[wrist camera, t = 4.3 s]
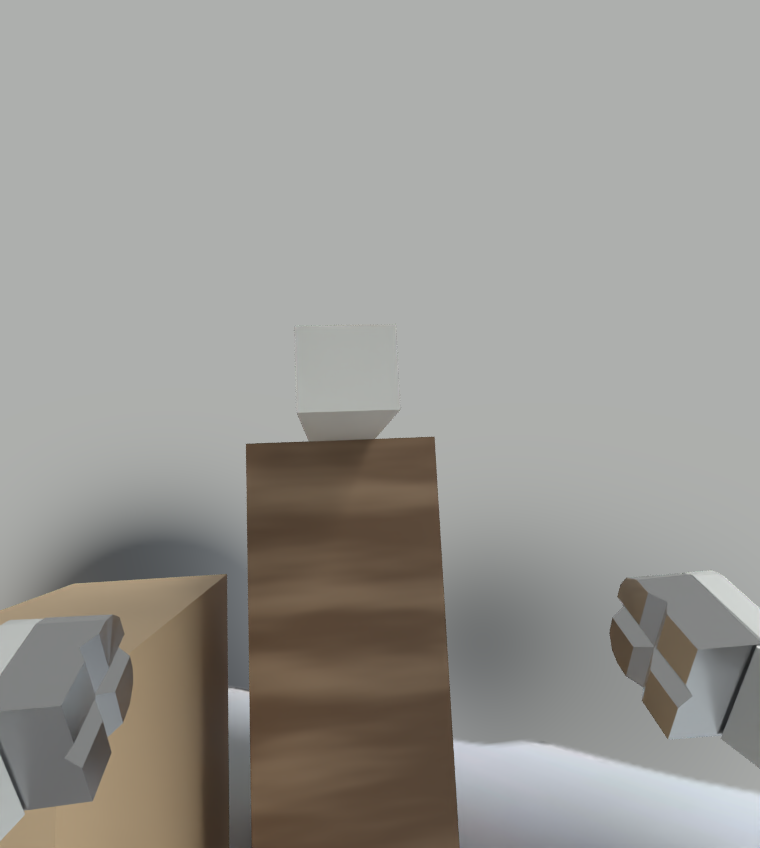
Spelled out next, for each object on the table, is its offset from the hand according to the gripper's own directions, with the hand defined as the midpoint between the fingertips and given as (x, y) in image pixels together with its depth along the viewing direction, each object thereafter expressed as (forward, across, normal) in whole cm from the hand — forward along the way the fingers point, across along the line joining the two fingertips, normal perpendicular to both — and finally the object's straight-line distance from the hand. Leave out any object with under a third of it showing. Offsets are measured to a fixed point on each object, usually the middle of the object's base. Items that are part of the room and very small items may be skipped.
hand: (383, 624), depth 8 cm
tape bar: (+22, 0, +7) cm, 23 cm away
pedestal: (+12, 0, +32) cm, 34 cm away
